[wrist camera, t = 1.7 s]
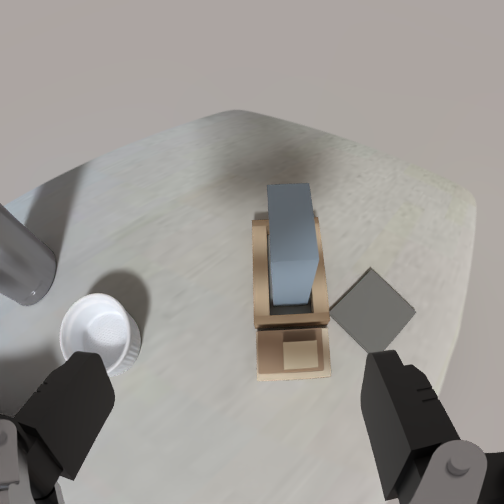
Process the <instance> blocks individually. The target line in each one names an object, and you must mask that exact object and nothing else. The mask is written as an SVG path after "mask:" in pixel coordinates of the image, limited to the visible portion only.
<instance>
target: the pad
mask: <svg viewBox="0 0 504 504" xmlns="http://www.w3.org/2000/svg"><path fill="white" fill-rule="evenodd" d="M415 313H416V311H415V310H414V309H413V308H412V307H411V306H410V305H409V304H408V303H407V302H406V301H405V300H404V299H403V298H402V297H400V296H399V295H398V294H397V293H396V292H395V291H394V290H393V289H392V288H391V287H390V286H389V285H388V284H387V283H386V282H385V281H384V280H383V279H382V278H381V277H379V276H378V275H377V274H376V273H375V272H374V271H373V270H372V269H371V270H370V271H369V272H368V273H367V274H366V275H365V276H364V278H363V279H362V280H361V281H360V282H359V283H358V284H357V285H356V286H355V287H354V288H353V289H352V290H351V291H350V292H349V293H348V294H347V295H346V296H345V297H344V298H343V299H342V300H341V301H340V302H339V303H338V304H337V305H336V306H335V307H334V308H333V309H332V310H331V311H330V312H329V315H330V316H331V317H332V318H333V319H334V320H335V321H336V322H337V323H338V324H339V325H340V326H341V327H342V328H343V329H344V330H345V331H346V332H347V333H348V334H349V335H350V336H351V337H352V338H353V339H354V340H355V341H356V342H357V343H358V344H359V345H360V346H361V347H362V348H363V349H364V350H365V351H366V352H367V353H368V354H369V353H371V352H379V351H384V350H385V349H386V348H387V346H388V345H389V344H390V343H391V342H392V341H393V340H394V338H395V337H396V336H397V335H398V334H399V333H400V331H401V330H402V329H403V328H404V327H405V325H406V324H407V323H408V322H409V321H410V319H411V318H412V317H413V316H414V314H415Z"/></svg>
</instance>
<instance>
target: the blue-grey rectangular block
mask: <svg viewBox="0 0 504 504" xmlns="http://www.w3.org/2000/svg"><path fill="white" fill-rule="evenodd" d="M267 193H268V212H269V232H270V253H271V272H272V290H273V307H275V306H295V305H307V303H308V300H309V296H310V292H311V289H312V285H313V281H314V278H315V274H316V270H317V266H318V262H319V253H318V245H317V237H316V229H315V221H314V214H313V207H312V200H311V193H310V186H309V183H300V184H276V185H267Z"/></svg>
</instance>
